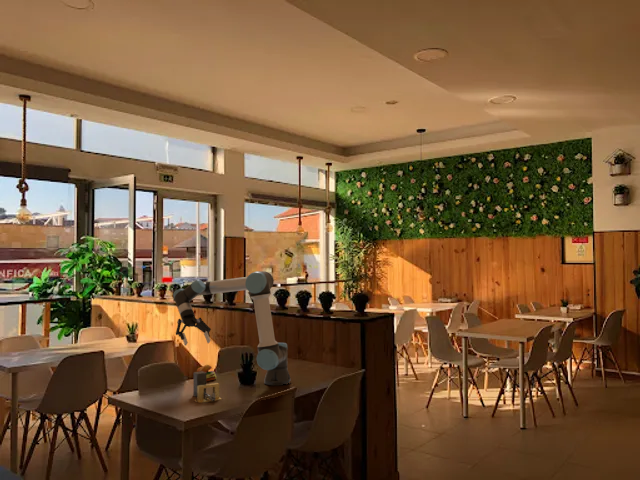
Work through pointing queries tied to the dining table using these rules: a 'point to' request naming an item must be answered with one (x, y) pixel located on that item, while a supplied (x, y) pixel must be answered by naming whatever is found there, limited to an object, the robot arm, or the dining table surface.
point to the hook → (201, 380)
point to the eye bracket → (201, 392)
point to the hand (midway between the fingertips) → (197, 343)
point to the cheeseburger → (207, 372)
